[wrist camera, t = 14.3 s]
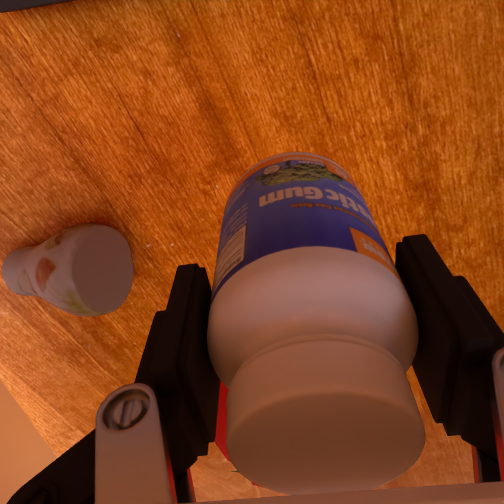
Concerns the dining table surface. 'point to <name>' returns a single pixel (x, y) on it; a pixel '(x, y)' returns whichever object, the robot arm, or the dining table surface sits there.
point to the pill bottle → (311, 333)
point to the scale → (26, 4)
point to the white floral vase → (74, 270)
